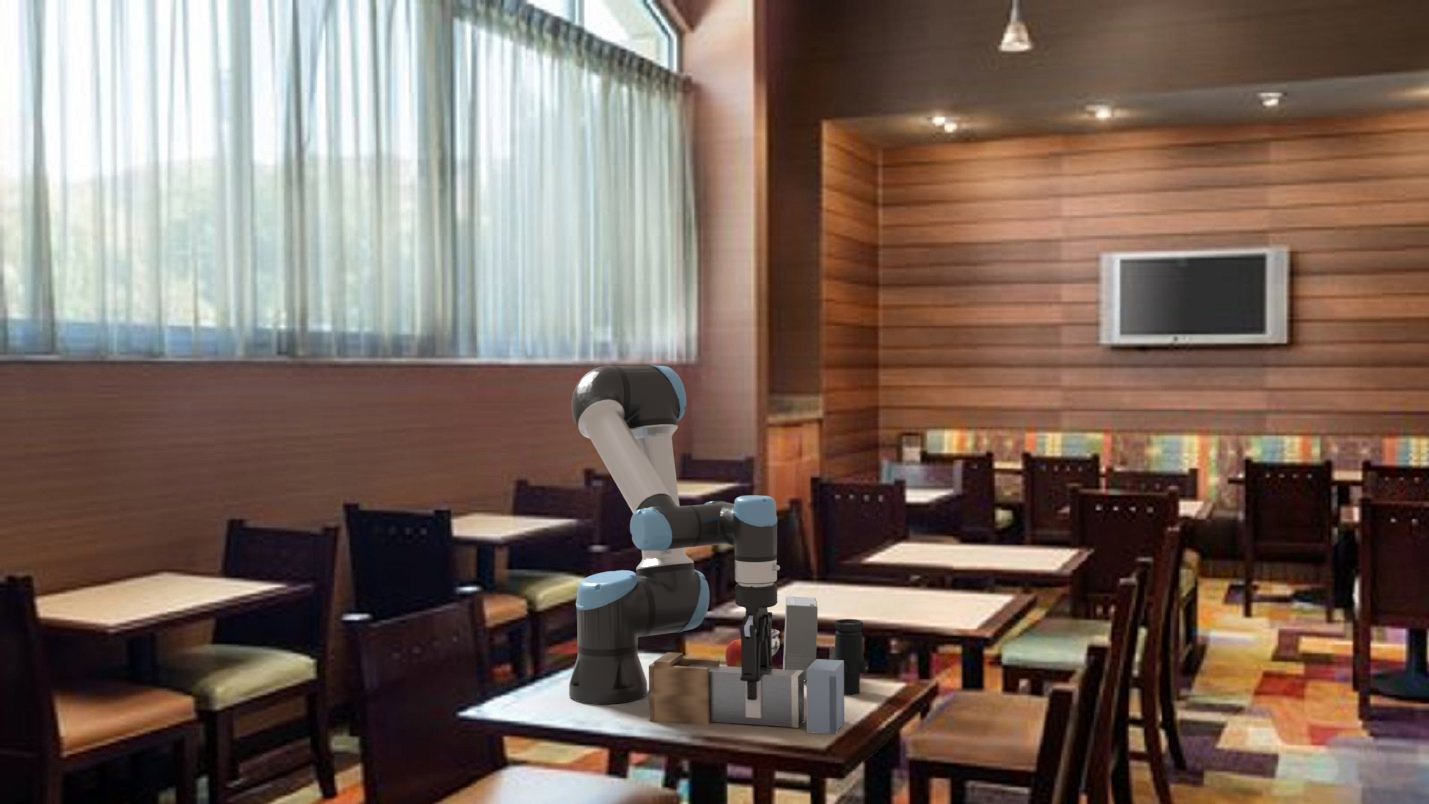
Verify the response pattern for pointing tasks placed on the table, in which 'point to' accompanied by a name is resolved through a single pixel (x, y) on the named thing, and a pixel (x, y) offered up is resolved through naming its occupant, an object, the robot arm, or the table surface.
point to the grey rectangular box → (777, 696)
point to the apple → (733, 654)
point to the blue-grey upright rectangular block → (825, 696)
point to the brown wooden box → (679, 689)
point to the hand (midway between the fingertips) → (757, 712)
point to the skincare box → (800, 633)
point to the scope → (850, 653)
